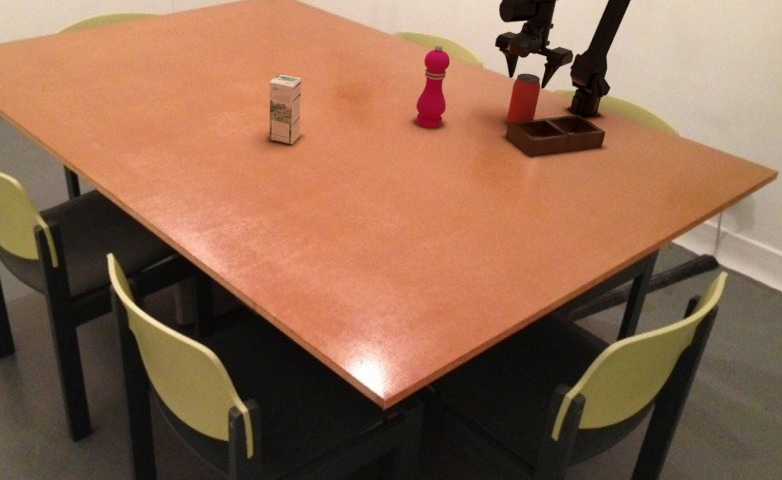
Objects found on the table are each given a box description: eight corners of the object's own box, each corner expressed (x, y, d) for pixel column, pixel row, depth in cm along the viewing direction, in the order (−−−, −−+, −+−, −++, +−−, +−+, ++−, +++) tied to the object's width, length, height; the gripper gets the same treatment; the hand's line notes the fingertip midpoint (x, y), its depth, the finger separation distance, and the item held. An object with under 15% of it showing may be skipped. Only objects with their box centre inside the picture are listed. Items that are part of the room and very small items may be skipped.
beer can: (503, 117, 199) (512, 72, 193) (528, 117, 200) (537, 73, 193) (510, 127, 194) (519, 82, 187) (535, 128, 195) (545, 82, 188)
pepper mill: (441, 130, 190) (453, 50, 179) (412, 126, 191) (422, 47, 180) (444, 119, 196) (455, 41, 185) (416, 115, 197) (425, 37, 186)
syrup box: (300, 136, 183) (302, 77, 175) (291, 145, 179) (292, 85, 170) (278, 131, 185) (279, 72, 176) (268, 141, 180) (268, 81, 172)
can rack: (575, 129, 196) (578, 114, 193) (601, 147, 187) (605, 132, 185) (505, 137, 189) (508, 122, 187) (529, 156, 181) (532, 140, 178)
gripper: (487, 15, 182) (476, 79, 191) (556, 35, 172) (541, 102, 181) (513, 7, 189) (502, 69, 198) (581, 26, 179) (566, 91, 188)
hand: (526, 82), depth 191 cm, fingers open, 9 cm apart
